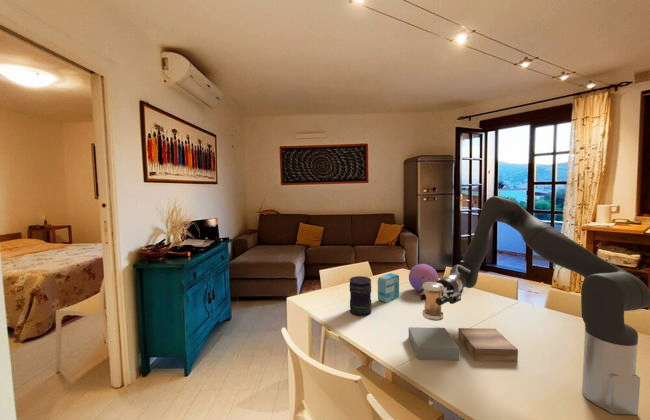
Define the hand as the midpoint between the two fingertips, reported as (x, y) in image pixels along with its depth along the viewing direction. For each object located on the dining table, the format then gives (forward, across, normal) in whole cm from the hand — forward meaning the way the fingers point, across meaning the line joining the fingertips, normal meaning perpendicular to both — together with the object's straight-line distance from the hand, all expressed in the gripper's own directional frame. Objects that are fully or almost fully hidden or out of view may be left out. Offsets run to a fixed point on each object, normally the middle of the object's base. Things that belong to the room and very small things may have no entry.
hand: (429, 300), depth 92 cm
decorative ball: (-50, -25, +18) cm, 59 cm away
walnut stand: (-14, +14, +18) cm, 26 cm away
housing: (-3, 0, +6) cm, 7 cm away
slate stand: (-2, 0, +18) cm, 18 cm away
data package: (-30, -34, +18) cm, 49 cm away
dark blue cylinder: (-8, -36, +18) cm, 41 cm away
